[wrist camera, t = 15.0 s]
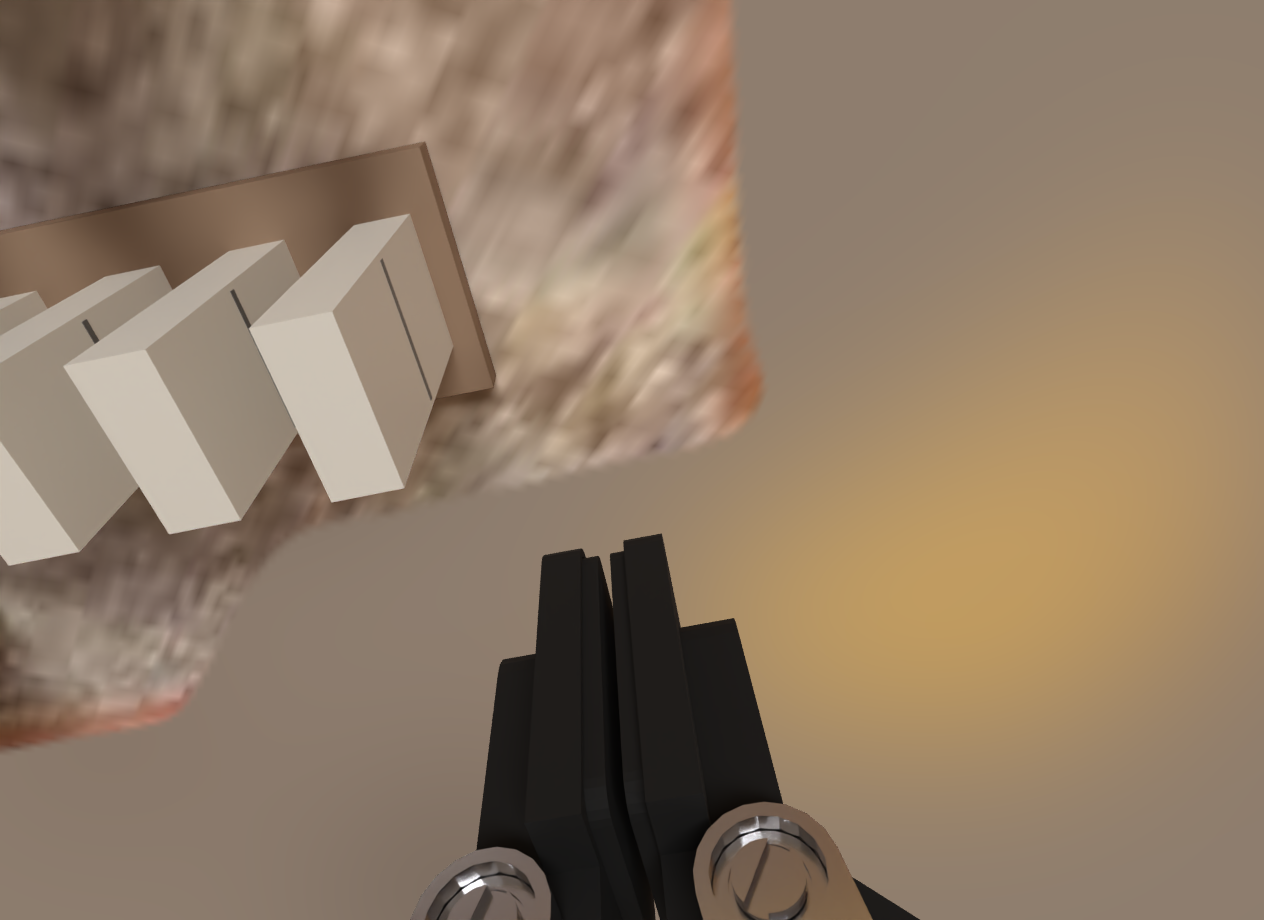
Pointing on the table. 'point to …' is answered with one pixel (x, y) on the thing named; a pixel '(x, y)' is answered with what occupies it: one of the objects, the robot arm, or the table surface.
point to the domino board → (259, 238)
